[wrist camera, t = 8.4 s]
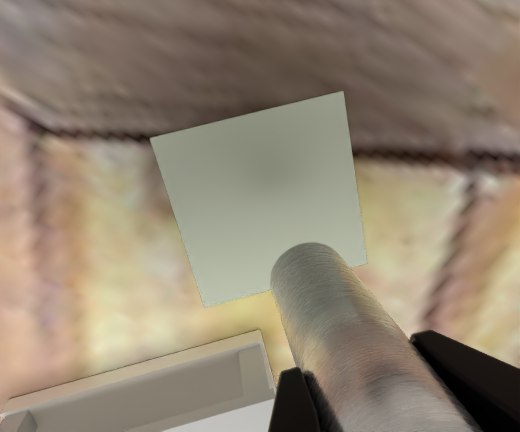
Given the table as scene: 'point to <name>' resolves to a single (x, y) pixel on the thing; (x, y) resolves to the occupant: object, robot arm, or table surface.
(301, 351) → the shiny metal cylinder
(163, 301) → the table surface
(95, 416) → the grey square-hole box
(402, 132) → the table surface
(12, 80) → the table surface
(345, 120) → the mat
